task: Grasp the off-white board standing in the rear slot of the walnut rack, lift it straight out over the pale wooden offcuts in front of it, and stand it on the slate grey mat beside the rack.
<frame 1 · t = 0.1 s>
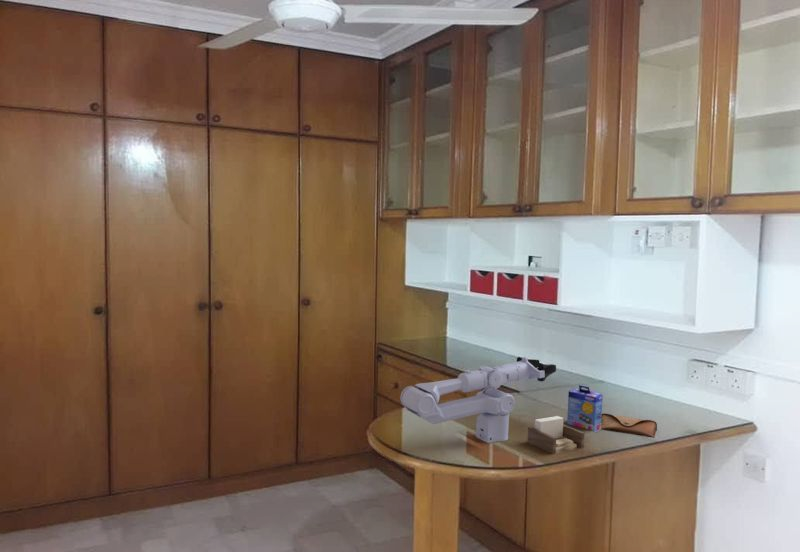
hand: (546, 365, 202), 22 cm above the table, tool horizontal, fingers open, 7 cm apart
board: (548, 441, 192), point 1 cm above the table, touching rack
offcut lower: (561, 447, 187), point 1 cm above the table, touching offcut upper, rack
ink cartridge box: (583, 429, 209), on the table
sunglasses case: (627, 431, 208), on the table
mat: (579, 440, 197), on the table
offcut upper: (561, 444, 187), point 2 cm above the table, touching offcut lower
rack: (555, 448, 189), on the table
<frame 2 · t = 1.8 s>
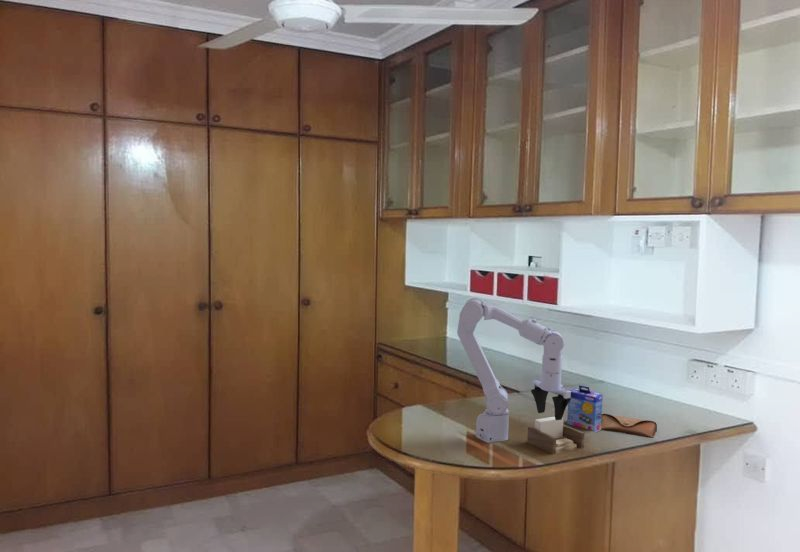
hand: (549, 416, 191), 9 cm above the table, tool pointing down, fingers open, 7 cm apart
nothing on the table moved.
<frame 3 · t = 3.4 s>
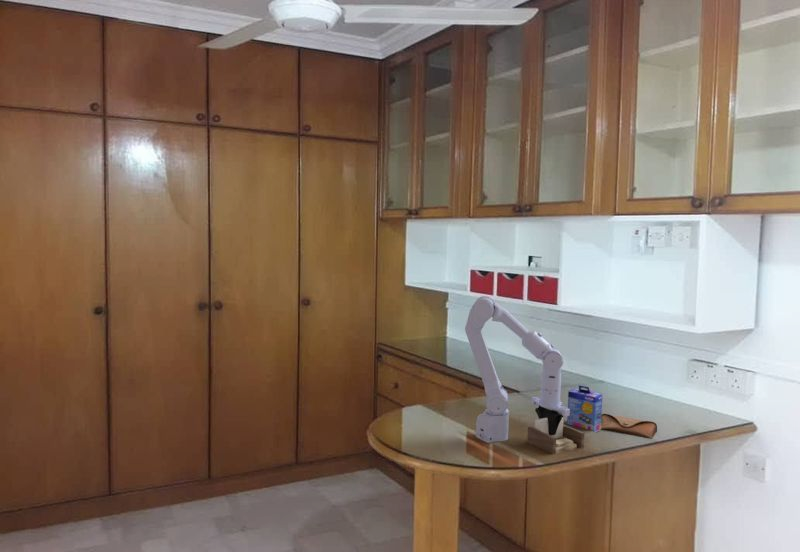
hand: (548, 433, 192), 4 cm above the table, tool pointing down, fingers closed on board, 2 cm apart
board: (548, 441, 192), point 1 cm above the table, touching gripper, rack
everything else where it was.
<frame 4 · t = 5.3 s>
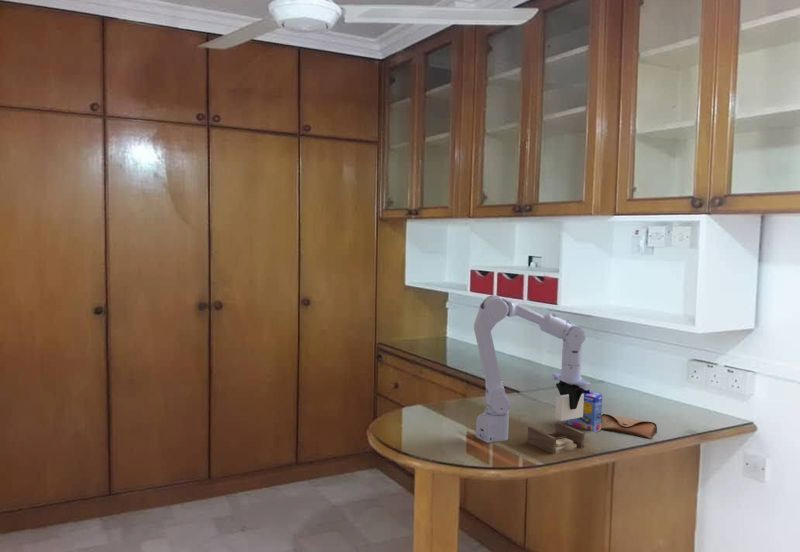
hand: (569, 407, 195), 11 cm above the table, tool pointing down, fingers closed on board, 2 cm apart
board: (569, 417, 195), point 7 cm above the table, touching gripper
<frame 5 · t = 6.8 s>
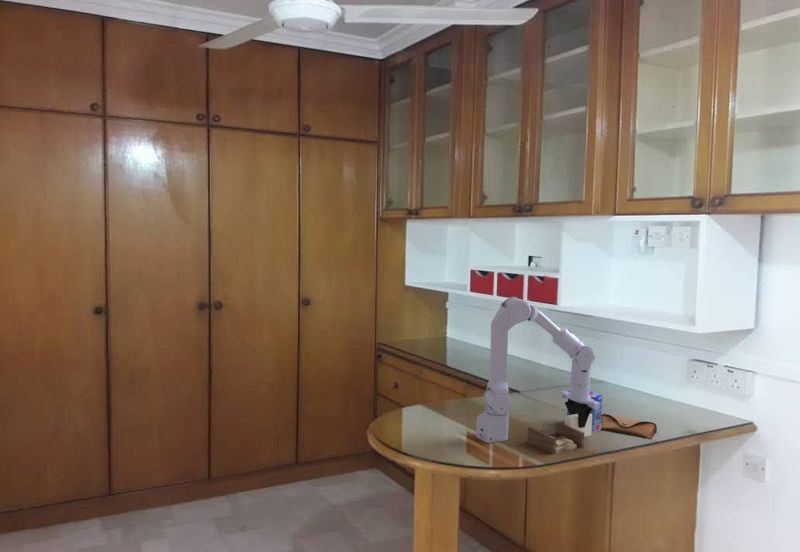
hand: (578, 425, 197), 4 cm above the table, tool pointing down, fingers closed on board, 2 cm apart
board: (577, 437, 198), point 1 cm above the table, touching gripper
when the fingers open (4 cm above the table, at t = 7.4 s): board stays where it is, resting on mat.
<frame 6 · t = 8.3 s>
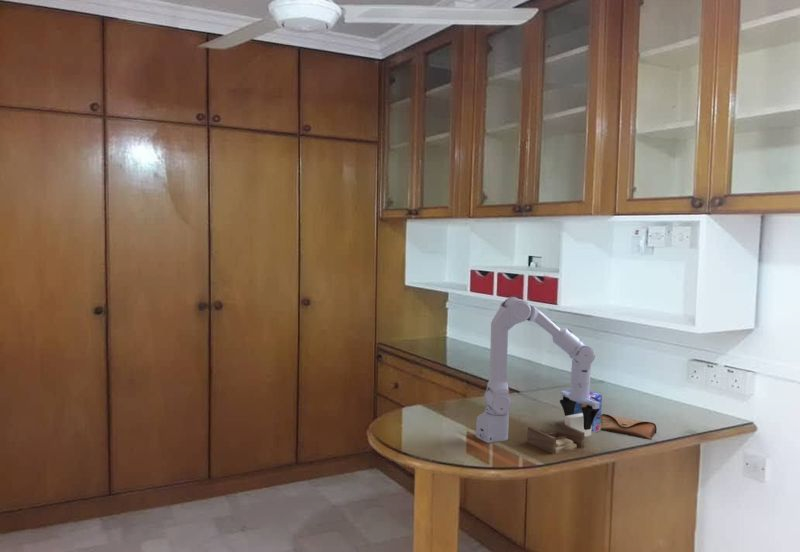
hand: (578, 425, 197), 4 cm above the table, tool pointing down, fingers open, 7 cm apart
board: (577, 437, 198), point 1 cm above the table, touching mat
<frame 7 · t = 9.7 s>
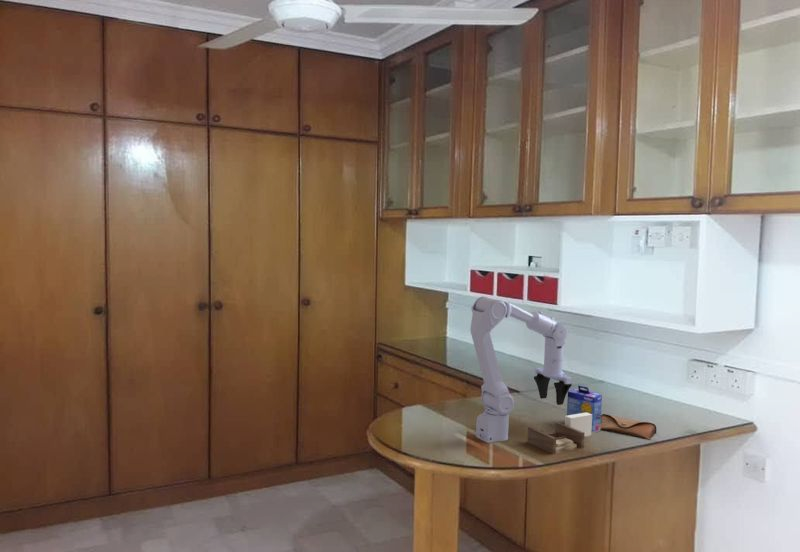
hand: (551, 401, 202), 10 cm above the table, tool pointing down, fingers open, 7 cm apart
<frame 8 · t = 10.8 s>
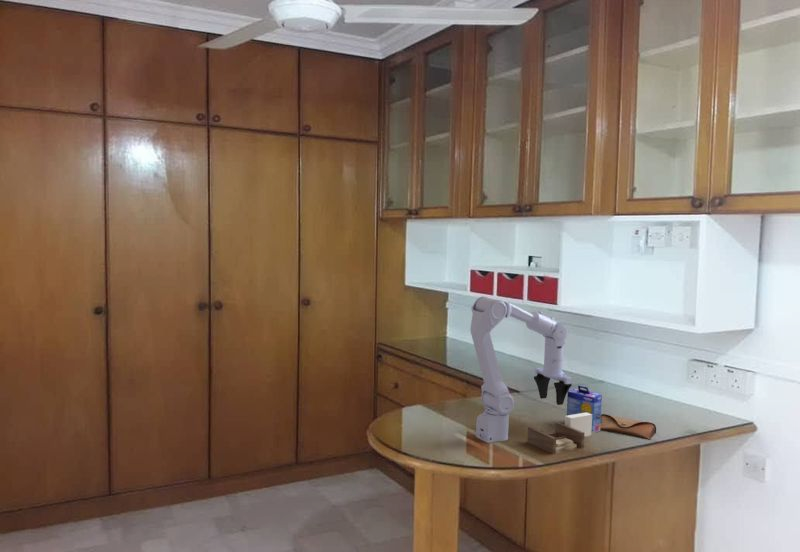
hand: (551, 401, 202), 10 cm above the table, tool pointing down, fingers open, 7 cm apart
at the end: board inside the target area (0.0 cm from its centre), point 0.6 cm above the table; board tilted 0°; offcut upper moved 0.0 cm from its start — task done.
